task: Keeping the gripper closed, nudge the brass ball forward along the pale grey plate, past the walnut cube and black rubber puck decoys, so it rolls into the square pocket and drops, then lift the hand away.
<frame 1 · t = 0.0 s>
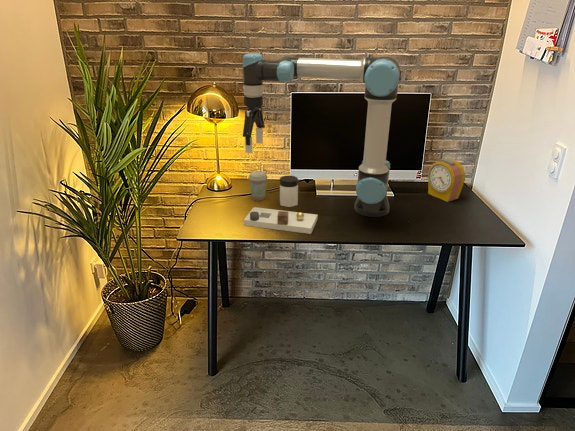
hand: (254, 147, 188), 28 cm above the table, fingers open, 13 cm apart
plate: (281, 222, 188), on the table
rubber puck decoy: (254, 218, 186), point 2 cm above the table, touching plate
coffee cup: (258, 198, 212), on the table
jar: (288, 203, 207), on the table
alarm clock: (442, 196, 216), on the table
ball: (300, 216, 185), point 4 cm above the table, touching plate
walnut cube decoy: (282, 222, 183), point 2 cm above the table, touching plate
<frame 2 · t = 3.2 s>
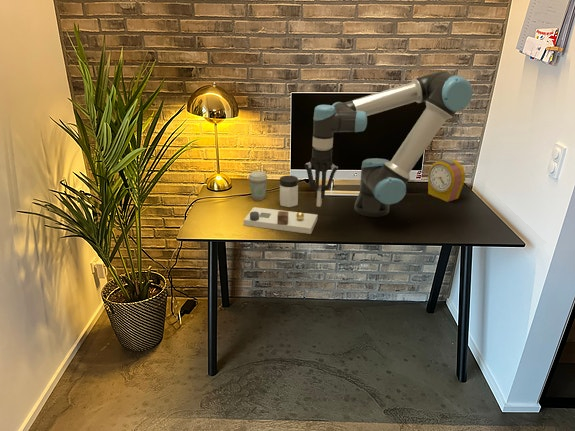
hand: (319, 205, 181), 10 cm above the table, fingers closed
nothing on the table moved.
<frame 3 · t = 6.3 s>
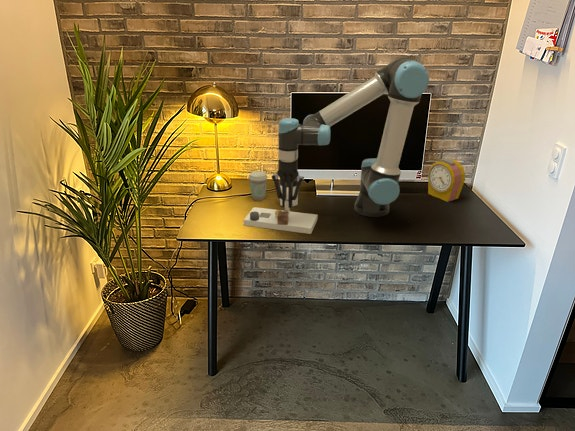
hand: (287, 214, 186), 4 cm above the table, fingers closed
ball: (278, 213, 187), point 4 cm above the table, tilted 41°, touching plate
everything else where it was.
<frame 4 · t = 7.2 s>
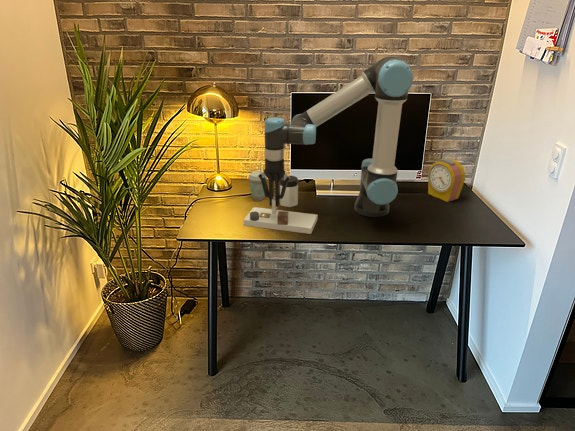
hand: (274, 213, 187), 4 cm above the table, fingers closed
ball: (263, 217, 189), point 2 cm above the table, tilted 118°
everything else where it was.
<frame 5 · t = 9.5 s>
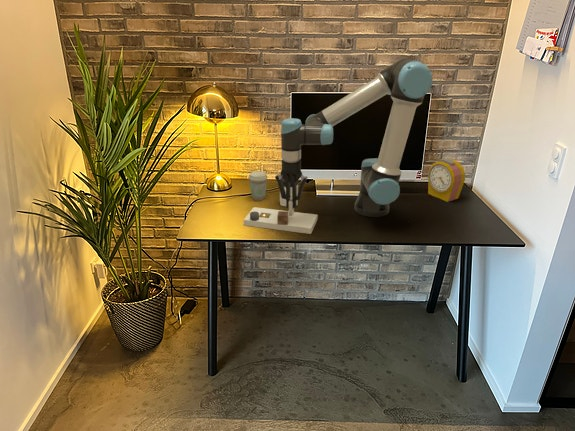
hand: (291, 214, 186), 4 cm above the table, fingers closed
ball: (264, 217, 189), point 2 cm above the table, tilted 129°
everything else where it was.
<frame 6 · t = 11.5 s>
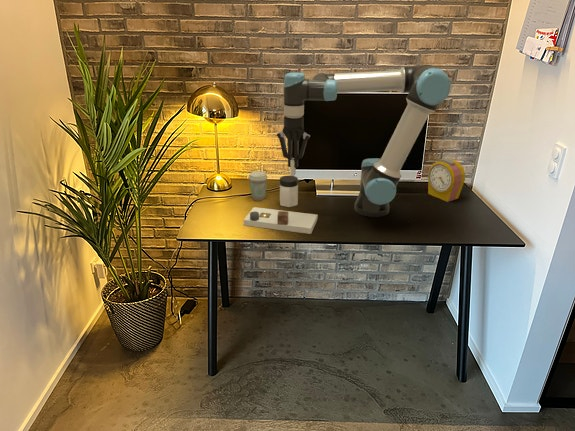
hand: (292, 174, 181), 20 cm above the table, fingers closed
ball: (264, 217, 189), point 2 cm above the table, tilted 139°
everything else where it was.
at the end: ball 0.2 cm from the target spot on the plate, point 1.6 cm above the plate's base; the gripper is holding nothing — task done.
